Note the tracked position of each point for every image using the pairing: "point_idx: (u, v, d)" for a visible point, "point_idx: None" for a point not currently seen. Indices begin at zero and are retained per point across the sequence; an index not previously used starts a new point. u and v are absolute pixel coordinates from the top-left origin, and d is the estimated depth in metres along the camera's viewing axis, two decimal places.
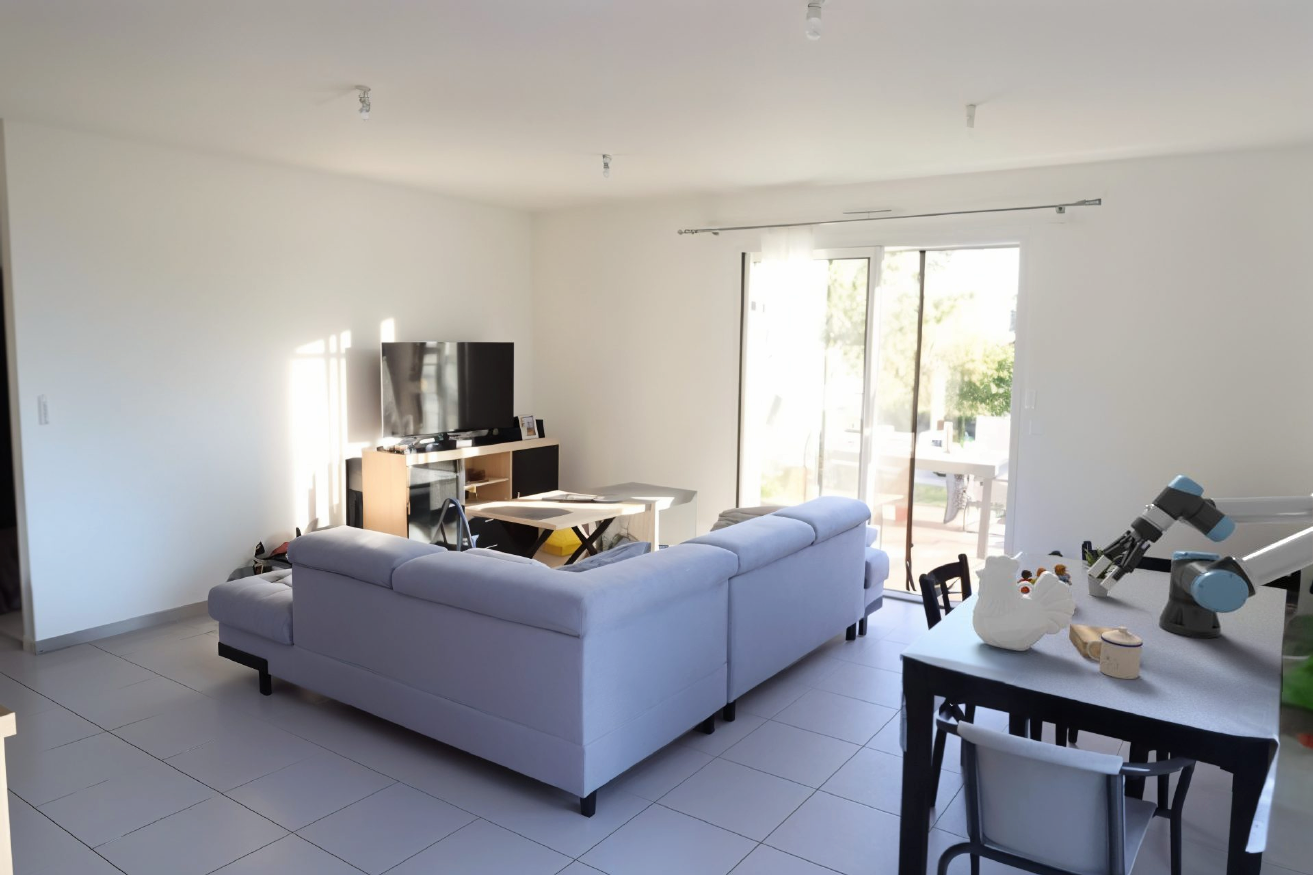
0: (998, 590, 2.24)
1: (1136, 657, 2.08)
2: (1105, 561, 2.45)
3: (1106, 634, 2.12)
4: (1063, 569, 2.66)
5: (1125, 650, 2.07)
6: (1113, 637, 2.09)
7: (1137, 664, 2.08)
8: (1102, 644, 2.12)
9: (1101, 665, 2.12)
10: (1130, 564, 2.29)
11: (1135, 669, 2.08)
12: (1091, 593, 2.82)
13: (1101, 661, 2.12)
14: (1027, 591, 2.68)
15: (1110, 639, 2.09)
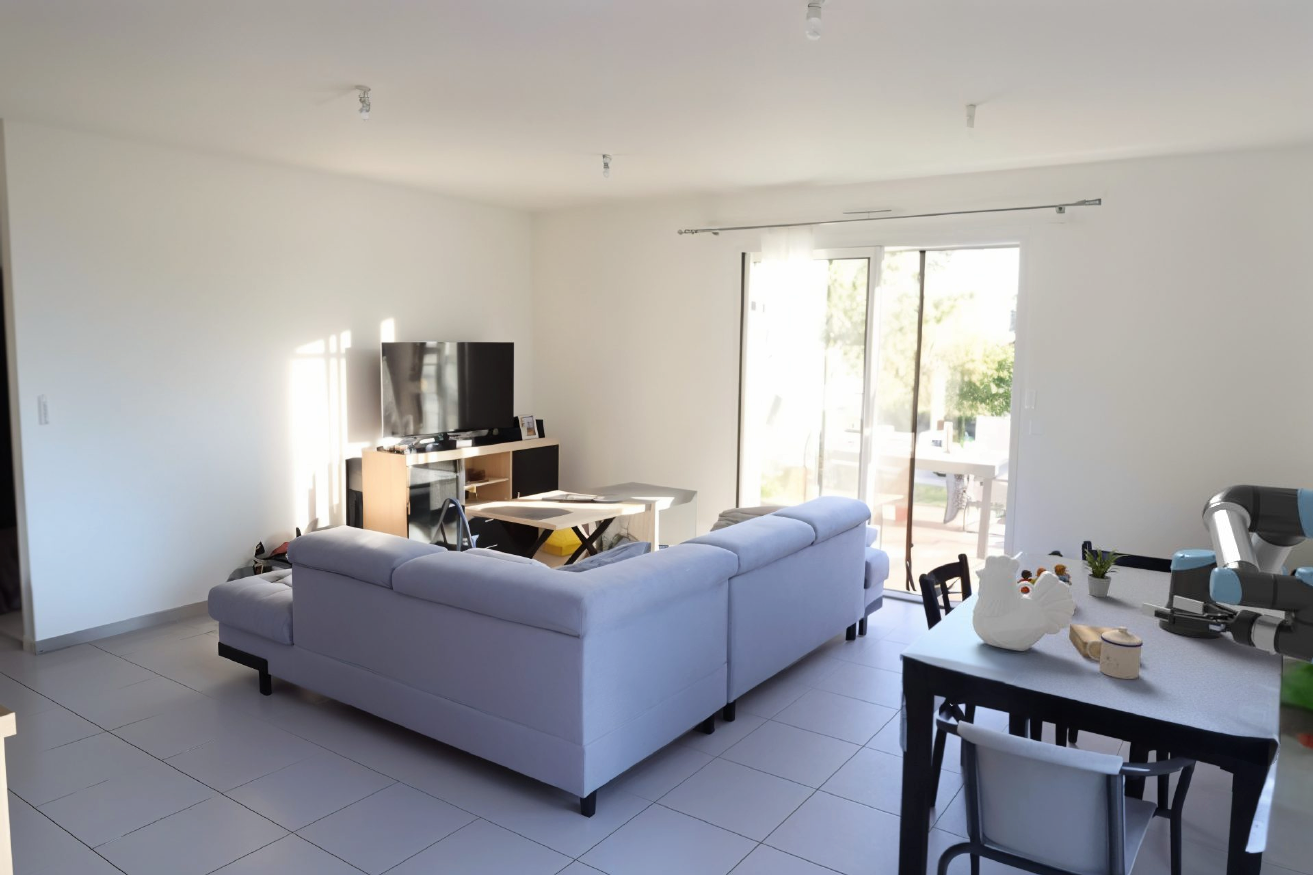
0: (998, 590, 2.24)
1: (1136, 657, 2.08)
2: None
3: (1106, 634, 2.12)
4: (1063, 569, 2.66)
5: (1125, 650, 2.07)
6: (1113, 637, 2.09)
7: (1137, 664, 2.08)
8: (1102, 644, 2.12)
9: (1101, 665, 2.12)
10: None
11: (1135, 669, 2.08)
12: (1091, 593, 2.82)
13: (1101, 661, 2.12)
14: (1027, 591, 2.68)
15: (1110, 639, 2.09)
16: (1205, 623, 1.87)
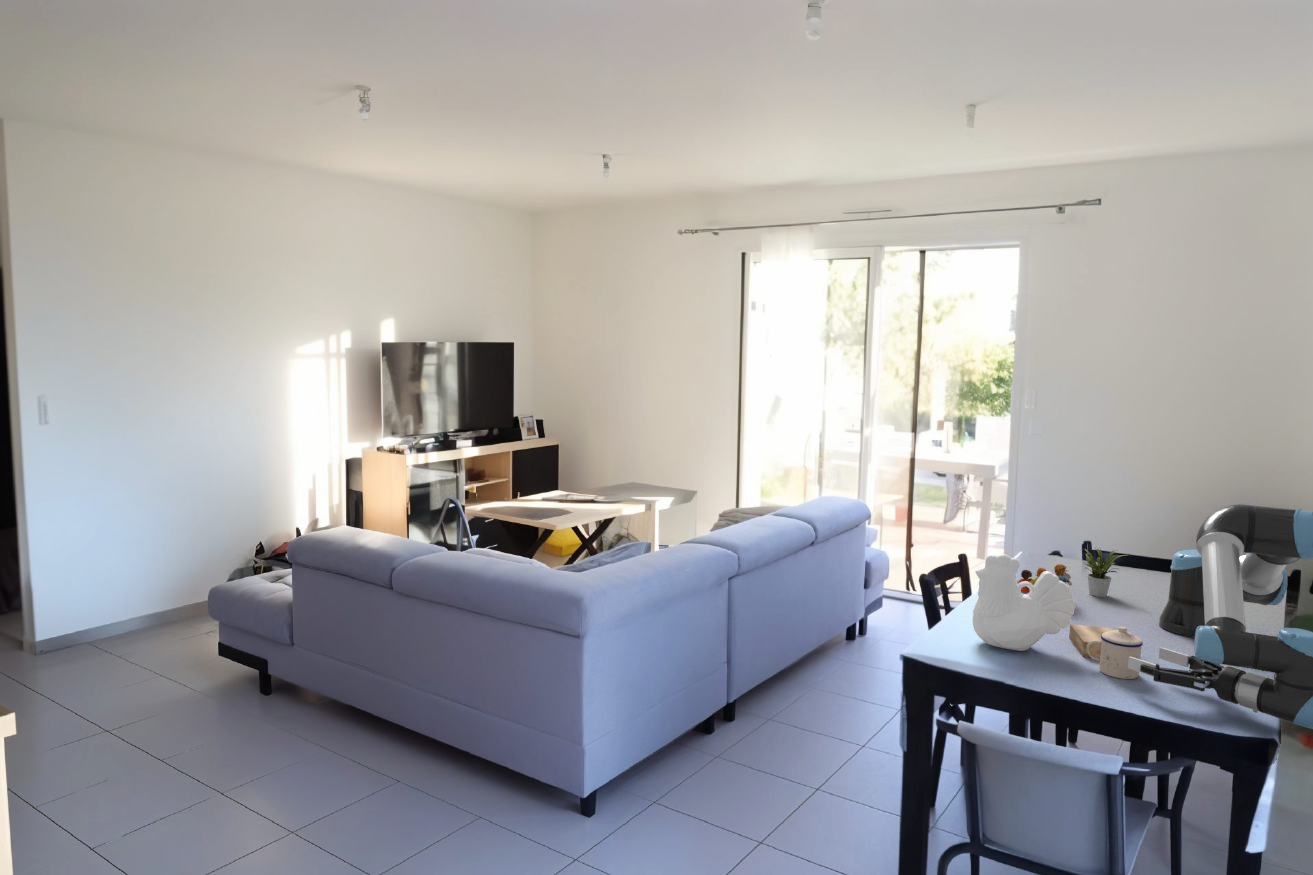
0: (998, 590, 2.24)
1: (1136, 657, 2.08)
2: None
3: (1106, 634, 2.12)
4: (1063, 569, 2.66)
5: (1125, 650, 2.07)
6: (1113, 637, 2.09)
7: None
8: (1102, 644, 2.12)
9: (1101, 665, 2.12)
10: None
11: None
12: (1091, 593, 2.82)
13: (1101, 661, 2.12)
14: (1027, 591, 2.68)
15: (1110, 639, 2.09)
16: (1190, 680, 1.90)
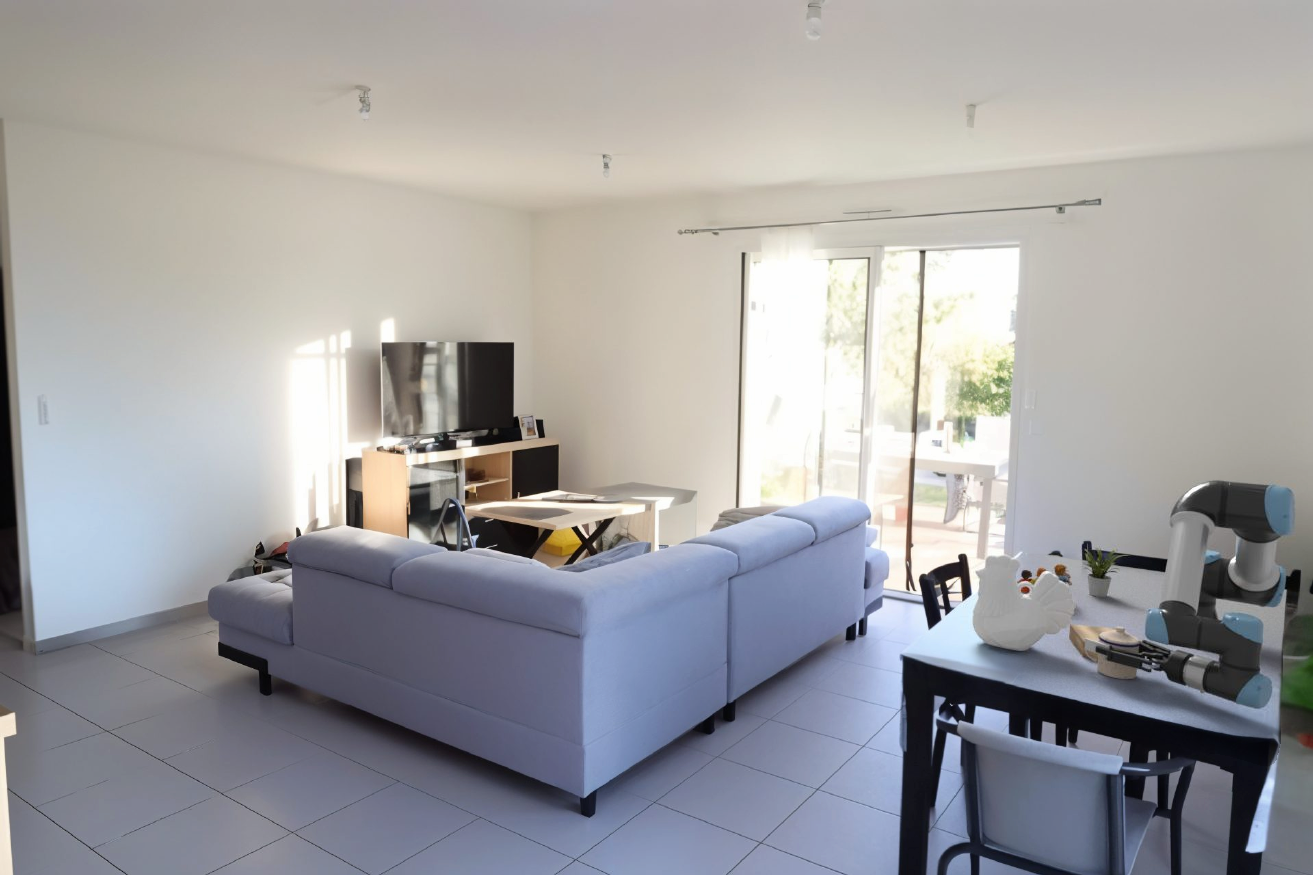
0: (998, 590, 2.24)
1: None
2: None
3: (1104, 634, 2.12)
4: (1063, 569, 2.66)
5: None
6: (1111, 637, 2.09)
7: None
8: None
9: (1099, 665, 2.12)
10: None
11: (1133, 668, 2.08)
12: (1091, 593, 2.82)
13: (1099, 661, 2.12)
14: (1027, 591, 2.68)
15: (1108, 639, 2.09)
16: (1138, 661, 2.00)
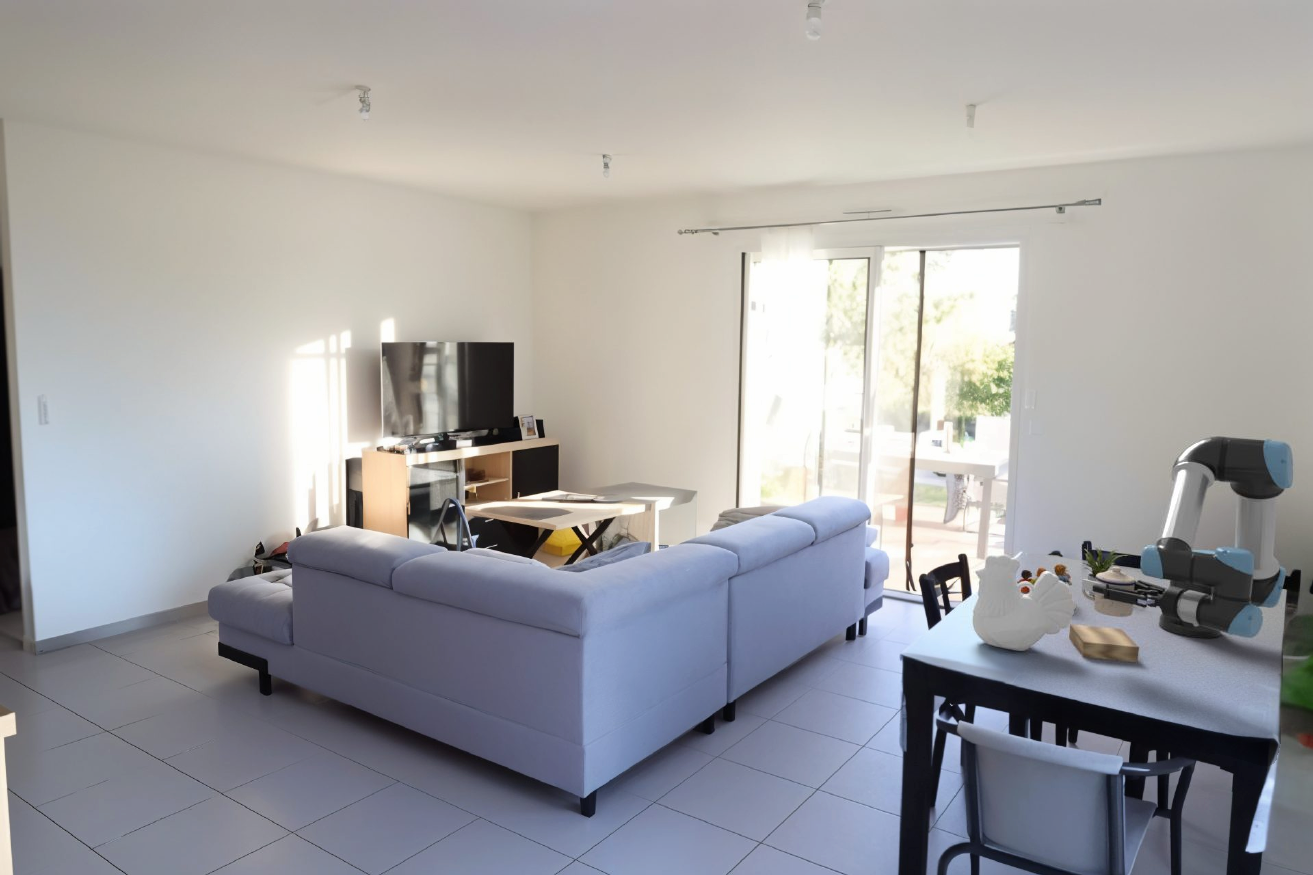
0: (998, 590, 2.24)
1: None
2: None
3: (1100, 574, 2.19)
4: (1063, 569, 2.66)
5: None
6: (1107, 577, 2.16)
7: None
8: None
9: (1096, 605, 2.19)
10: None
11: (1128, 606, 2.15)
12: (1091, 593, 2.82)
13: (1096, 601, 2.19)
14: (1027, 591, 2.68)
15: (1105, 579, 2.16)
16: (1134, 597, 2.07)
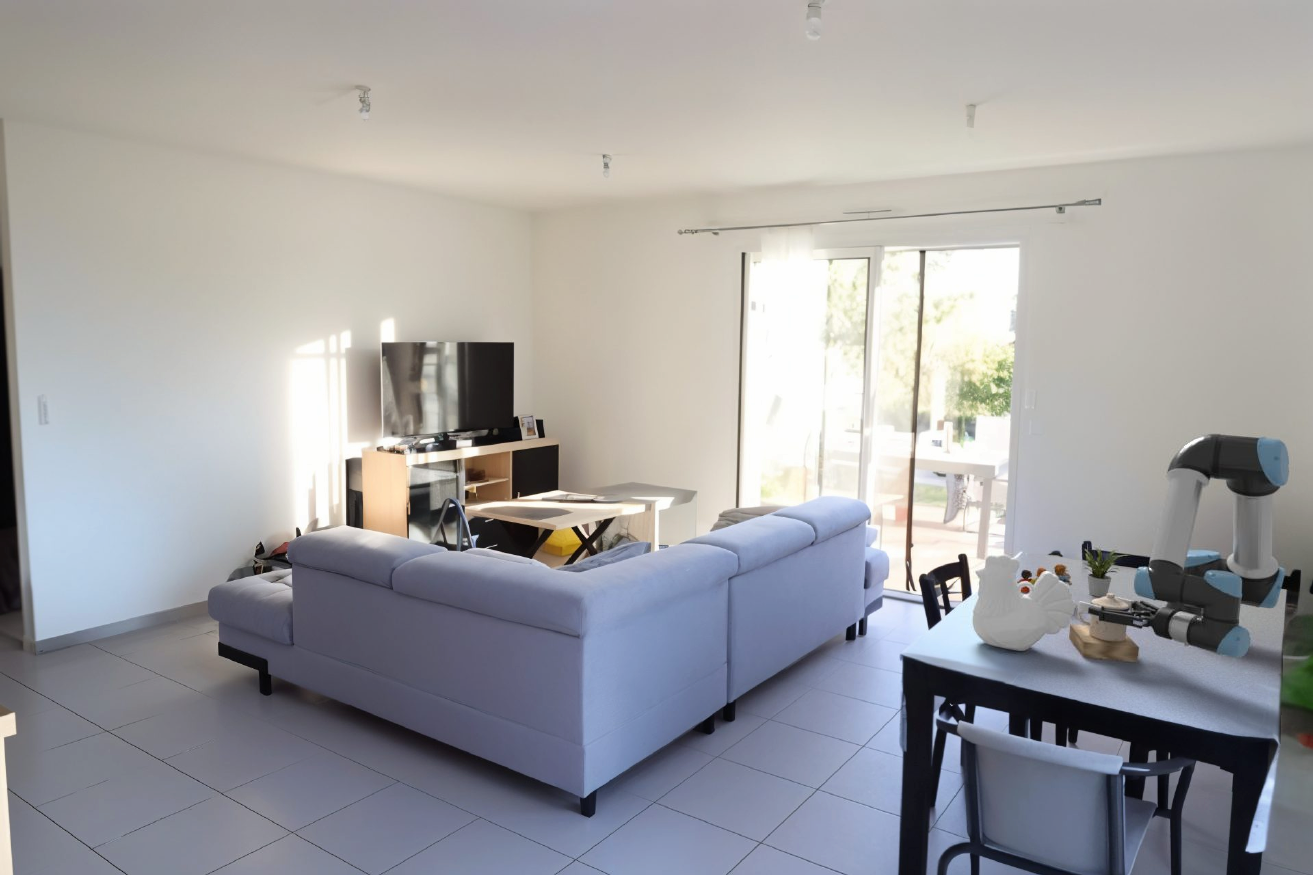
0: (998, 590, 2.24)
1: None
2: None
3: (1095, 600, 2.27)
4: (1063, 569, 2.66)
5: None
6: (1102, 603, 2.24)
7: (1124, 628, 2.23)
8: None
9: (1091, 629, 2.27)
10: None
11: (1122, 632, 2.23)
12: (1091, 593, 2.82)
13: (1091, 626, 2.27)
14: (1027, 591, 2.68)
15: (1099, 605, 2.24)
16: (1129, 619, 2.15)
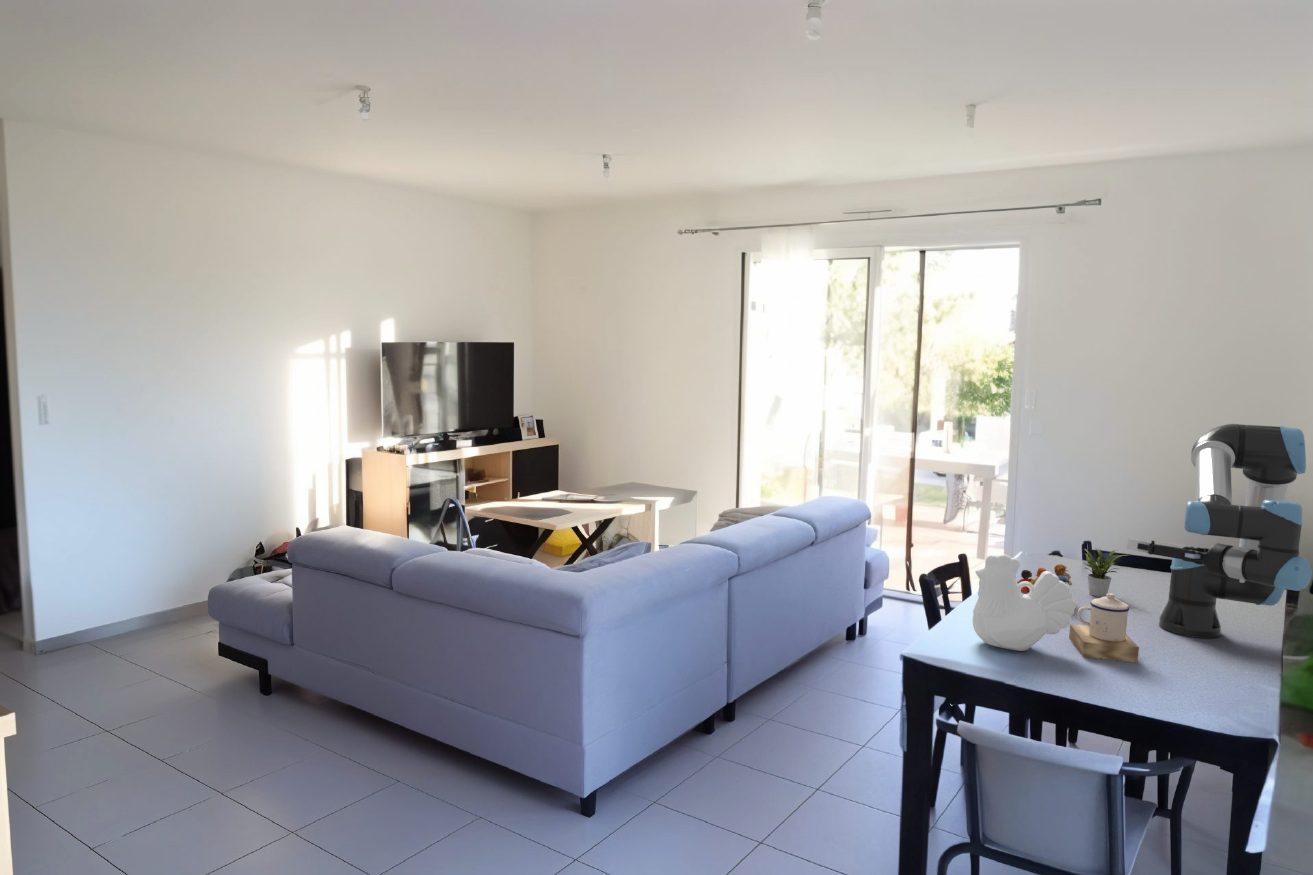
0: (998, 590, 2.24)
1: (1123, 621, 2.23)
2: None
3: (1095, 600, 2.27)
4: (1063, 569, 2.66)
5: (1113, 615, 2.22)
6: (1102, 603, 2.24)
7: (1124, 628, 2.23)
8: (1092, 610, 2.27)
9: (1091, 629, 2.27)
10: None
11: (1122, 632, 2.23)
12: (1091, 593, 2.82)
13: (1091, 626, 2.27)
14: (1027, 591, 2.68)
15: (1099, 605, 2.24)
16: (1181, 552, 2.04)
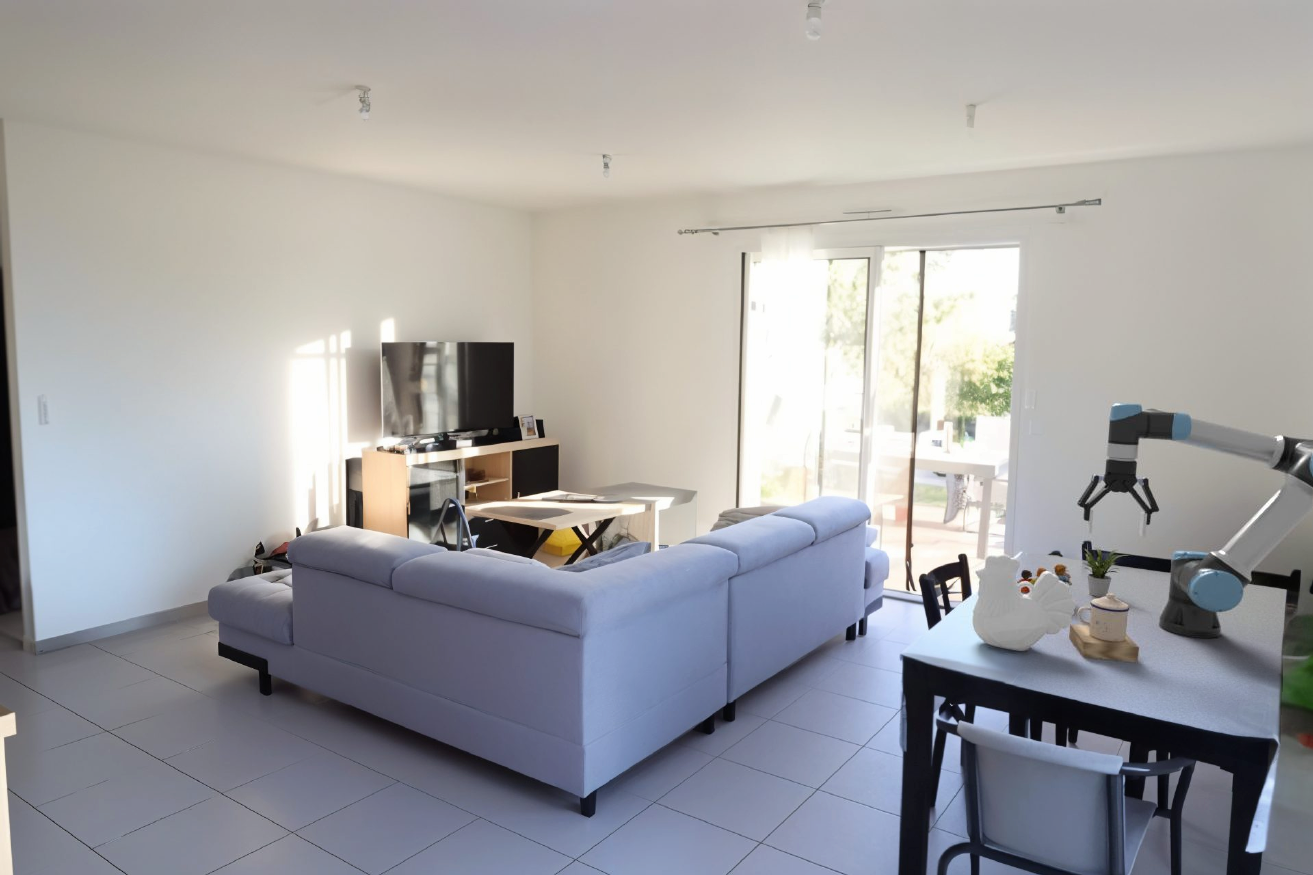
0: (998, 590, 2.24)
1: (1123, 621, 2.23)
2: (1142, 516, 2.37)
3: (1095, 600, 2.27)
4: (1063, 569, 2.66)
5: (1113, 615, 2.22)
6: (1102, 603, 2.24)
7: (1124, 628, 2.23)
8: (1092, 610, 2.27)
9: (1091, 629, 2.27)
10: (1080, 499, 2.41)
11: (1122, 632, 2.23)
12: (1091, 593, 2.82)
13: (1091, 626, 2.27)
14: (1027, 591, 2.68)
15: (1099, 605, 2.24)
16: (1148, 487, 2.36)
